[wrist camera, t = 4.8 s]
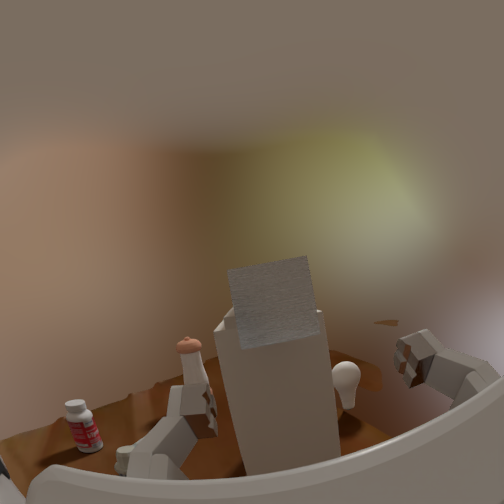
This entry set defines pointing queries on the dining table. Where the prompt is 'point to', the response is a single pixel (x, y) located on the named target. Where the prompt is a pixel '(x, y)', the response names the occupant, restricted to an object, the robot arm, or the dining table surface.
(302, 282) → the brushed metal bar
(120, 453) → the toothbrush head
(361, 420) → the dining table surface
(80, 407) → the pill bottle
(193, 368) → the pepper shaker
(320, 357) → the stand
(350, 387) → the lightbulb
